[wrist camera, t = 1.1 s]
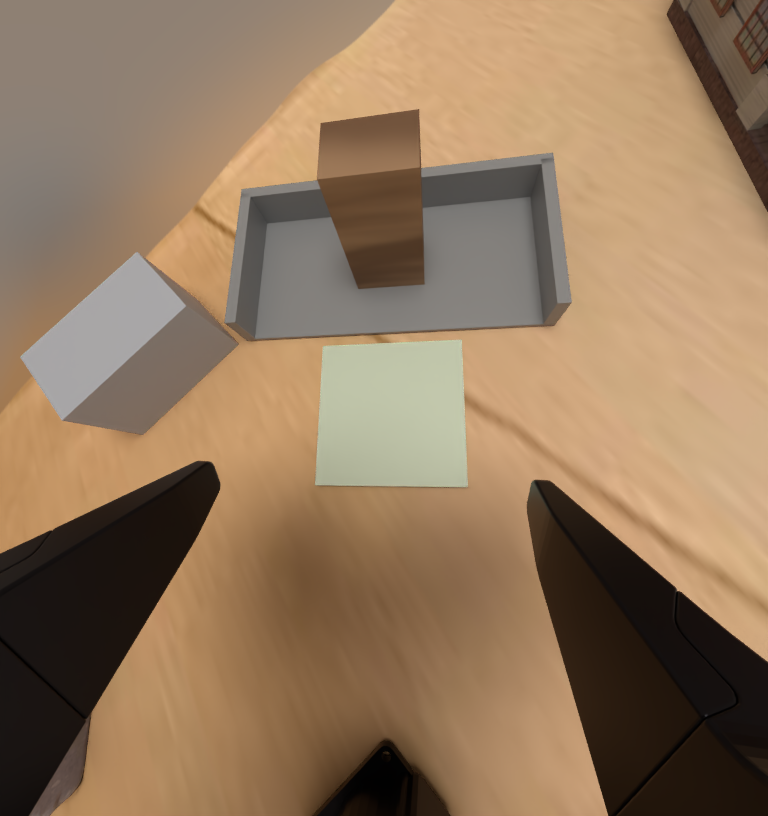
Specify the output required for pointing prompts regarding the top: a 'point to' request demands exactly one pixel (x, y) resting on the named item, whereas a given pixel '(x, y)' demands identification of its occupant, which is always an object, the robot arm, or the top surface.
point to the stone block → (65, 776)
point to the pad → (392, 415)
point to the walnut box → (376, 196)
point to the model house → (732, 71)
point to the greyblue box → (128, 351)
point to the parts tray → (443, 258)
